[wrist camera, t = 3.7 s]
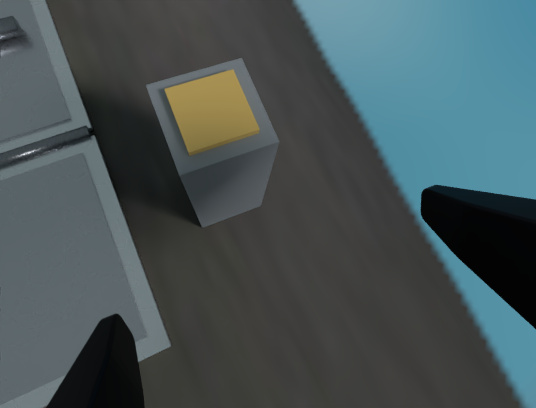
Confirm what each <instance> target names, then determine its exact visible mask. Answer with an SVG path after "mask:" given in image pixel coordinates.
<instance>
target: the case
mask: <svg viewBox="0 0 536 408" xmlns="http://www.w3.org/2000/svg"><path fill="white" fill-rule="evenodd" d="M91 131H93V127H92V124H91V121H90V119H89V116H88V113H87V110H86V108H85V105H84V102H83V99H82V97H81V94H80V91H79V88H78V86H77V83H76V80H75V77H74V75H73V72H72V69H71V67H70V64H69V61H68V58H67V56H66V53H65V50H64V47H63V45H62V42H61V39H60V36H59V34H58V31H57V28H56V25H55V23H54V20H53V17H52V14H51V12H50V9H49V6H48V3H47V1H46V0H0V408H42V407H44V406H46V405H48V403H49V402H50V400H51V399H52V397H53V395H54V394H55V392H56V390H57V389H58V387H59V386H60V384H61V382H62V381H63V379H64V378H65V376H66V374H67V373H68V371H69V369H70V368H71V366H72V365H73V363H74V361H75V360H76V358H77V356H78V355H79V353H80V352H81V350H82V348H83V347H84V345H85V344H86V342H87V340H88V339H89V337H90V335H91V334H92V332H93V331H94V329H95V327H96V326H97V324H98V323H99V321H100V320H101V319H103V318H105V317H108V316H110V315H113V314H115V313H116V314H119V315H120V316H121V317H122V319H123V320H124V322H125V323H126V325H127V326H128V328H129V329H130V331H131V332H132V334H133V337H134V340H135V345H136V351H137V357H138V362H139V361H141V360H143V359H145V358H147V357H149V356H151V355H154V354H156V353H158V352H160V351H162V350H164V349H166V348H168V347H170V346H172V343H171V341H170V338H169V335H168V332H167V330H166V327H165V324H164V321H163V319H162V316H161V313H160V310H159V308H158V305H157V302H156V300H155V297H154V294H153V291H152V289H151V286H150V283H149V280H148V278H147V275H146V272H145V269H144V267H143V264H142V261H141V258H140V256H139V253H138V250H137V247H136V245H135V242H134V239H133V236H132V234H131V231H130V228H129V226H128V223H127V220H126V217H125V215H124V212H123V209H122V206H121V204H120V201H119V198H118V195H117V193H116V190H115V187H114V184H113V182H112V179H111V176H110V173H109V171H108V168H107V165H106V162H105V160H104V157H103V154H102V152H101V149H100V146H99V143H98V141H97V138H96V137H95V136H94V135H93V136H92V134H91Z"/></svg>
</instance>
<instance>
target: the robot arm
mask: <svg viewBox="0 0 536 408" xmlns="http://www.w3.org/2000/svg"><path fill="white" fill-rule="evenodd" d="M421 216H422V218H423V219H424V221H425V222H426V223H427V224H428V225H429V226H430V227H431V229H432V230H433V231H434V232H435V233H436V234H437V235H438V236H439V237H440V239H441V240H442V241H443V242H444V243H445V244H446V245H447V246H448V247H449V249H450V250H451V251H452V252H453V253H454V254H455V255H456V256H457V257H458V258H459V259H460V260H461V261H462V262H463V263H464V264H465V265H466V266H467V267H469V268H470V269H471V270H472V271H473V272H474V273H475V274H476V275H477V276H478V277H479V278H481V279H482V280H483V281H484V282H485V283H486V284H487V285H488V286H489V287H490V288H491V289H493V290H494V291H495V292H496V293H497V294H498V295H499V296H500V297H501V298H502V299H503V300H505V301H506V302H507V303H508V304H509V305H510V306H511V307H512V308H513V309H515V311H517V312H518V313H519V314H520V315H521V316H522V317H523V318H524V319H525V320H526V321H527V322H529V323H530V324H531V325H532V326H533V327H534V328H535V329H536V200H534V199H528V198H521V197H515V196H508V195H501V194H494V193H488V192H480V191H474V190H467V189H460V188H454V187H447V186H441V185H434V186H431V187H428V188H426V189H424V190H423V192H422V194H421ZM46 408H145V407H144V395H143V388H142V382H141V376H140V370H139V363H138V357H137V351H136V345H135V340H134V337H133V334H132V332H131V331H130V329H129V328H128V326H127V325H126V323H125V322H124V320H123V319H122V317H121V316H120V315H119V314H116V313H115V314H113V315H110V316H108V317H105V318H103V319H101V320H100V321H99V323H98V324H97V326H96V327H95V329H94V331H93V332H92V334H91V335H90V337H89V339H88V340H87V342H86V344H85V345H84V347H83V348H82V350H81V352H80V353H79V355H78V356H77V358H76V360H75V361H74V363H73V365H72V366H71V368H70V369H69V371H68V373H67V374H66V376H65V378H64V379H63V381H62V382H61V384H60V386H59V387H58V389H57V390H56V392H55V394H54V395H53V397H52V399H51V400H50V402H49V403H48V405H47V407H46Z"/></svg>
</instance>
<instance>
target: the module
mask: <svg viewBox="0 0 536 408" xmlns="http://www.w3.org/2000/svg"><path fill="white" fill-rule="evenodd" d="M146 87H147V89H148V92H149V95H150V98H151V100H152V103H153V106H154V108H155V111H156V114H157V117H158V119H159V122H160V125H161V127H162V130H163V133H164V136H165V138H166V141H167V144H168V146H169V149H170V152H171V154H172V157H173V160H174V163H175V165H176V168H177V171H178V173H179V176H180V178H181V181H182V183H183V185H184V187H185V190H186V192H187V194H188V197H189V199H190V201H191V203H192V206H193V208H194V210H195V213H196V215H197V217H198V219H199V222H200V224H201V226H202V228H203V227H206V226H209V225H211V224H214V223H217V222H219V221H222V220H225V219H227V218H230V217H233V216H235V215H238V214H241V213H243V212H246V211H249V210H251V209H254V208H257V207H259V206H261V203H262V200H263V196H264V193H265V190H266V186H267V183H268V179H269V176H270V172H271V169H272V165H273V162H274V158H275V155H276V151H277V148H278V144H279V140H278V138H277V135H276V133H275V131H274V129H273V126H272V124H271V122H270V120H269V118H268V115H267V113H266V111H265V109H264V106H263V104H262V102H261V100H260V98H259V95H258V93H257V91H256V89H255V86H254V84H253V82H252V80H251V78H250V75H249V73H248V71H247V69H246V67H245V64H244V62H243V60H242V58H240V59H236V60H233V61H229V62H226V63H222V64H219V65H215V66H212V67H208V68H205V69H201V70H197V71H194V72H190V73H187V74H183V75H180V76H176V77H173V78H169V79H166V80H162V81H159V82H155V83H152V84H148V85H146Z"/></svg>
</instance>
